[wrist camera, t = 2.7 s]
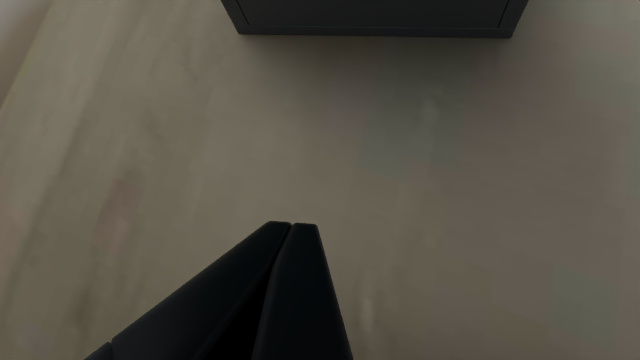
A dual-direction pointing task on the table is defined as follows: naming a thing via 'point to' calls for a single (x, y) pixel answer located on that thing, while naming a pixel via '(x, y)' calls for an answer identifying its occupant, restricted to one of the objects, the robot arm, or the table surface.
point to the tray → (377, 17)
